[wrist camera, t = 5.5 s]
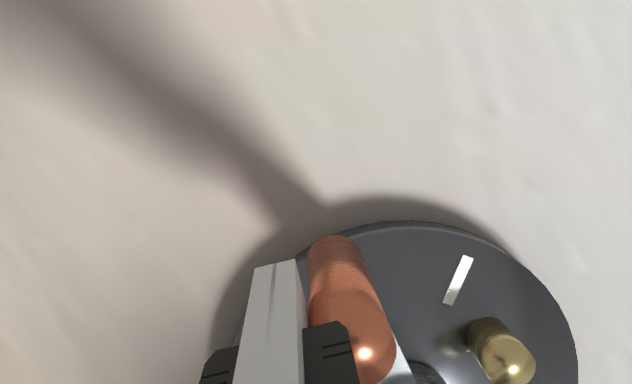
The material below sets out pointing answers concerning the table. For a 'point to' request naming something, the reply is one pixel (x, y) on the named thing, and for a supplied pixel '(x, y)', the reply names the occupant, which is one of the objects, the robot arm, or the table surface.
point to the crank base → (462, 305)
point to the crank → (358, 313)
